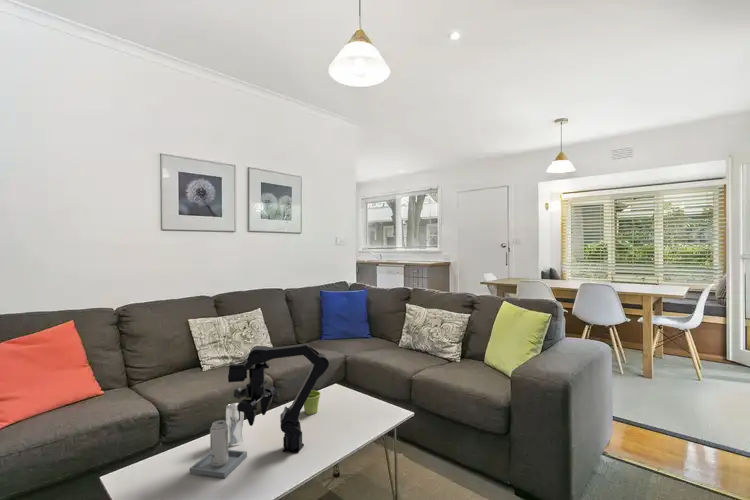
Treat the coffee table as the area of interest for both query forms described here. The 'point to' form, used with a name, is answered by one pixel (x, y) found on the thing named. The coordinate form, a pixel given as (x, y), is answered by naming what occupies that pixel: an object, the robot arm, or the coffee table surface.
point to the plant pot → (312, 402)
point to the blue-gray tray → (207, 469)
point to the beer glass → (234, 424)
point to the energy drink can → (219, 443)
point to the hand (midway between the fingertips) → (257, 420)
